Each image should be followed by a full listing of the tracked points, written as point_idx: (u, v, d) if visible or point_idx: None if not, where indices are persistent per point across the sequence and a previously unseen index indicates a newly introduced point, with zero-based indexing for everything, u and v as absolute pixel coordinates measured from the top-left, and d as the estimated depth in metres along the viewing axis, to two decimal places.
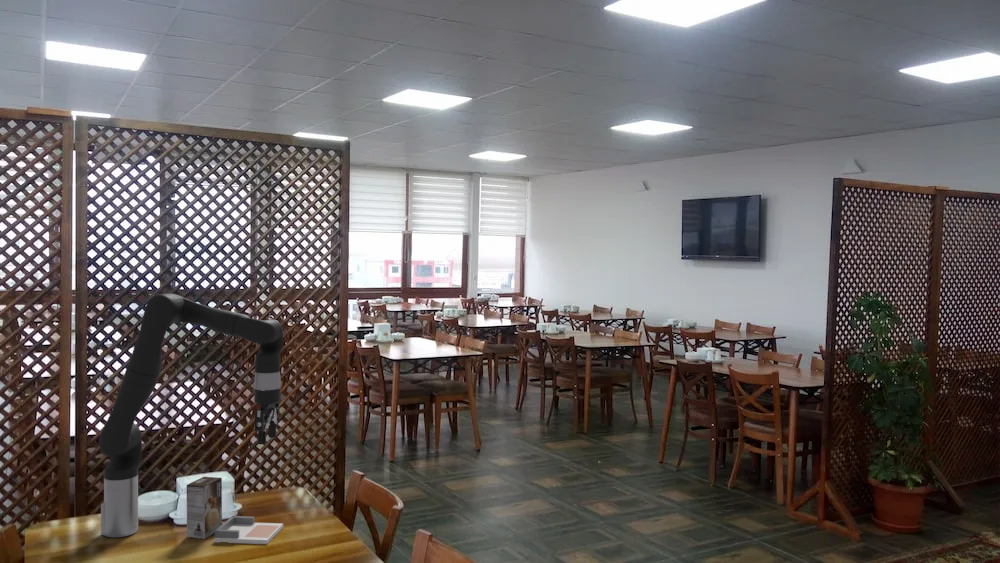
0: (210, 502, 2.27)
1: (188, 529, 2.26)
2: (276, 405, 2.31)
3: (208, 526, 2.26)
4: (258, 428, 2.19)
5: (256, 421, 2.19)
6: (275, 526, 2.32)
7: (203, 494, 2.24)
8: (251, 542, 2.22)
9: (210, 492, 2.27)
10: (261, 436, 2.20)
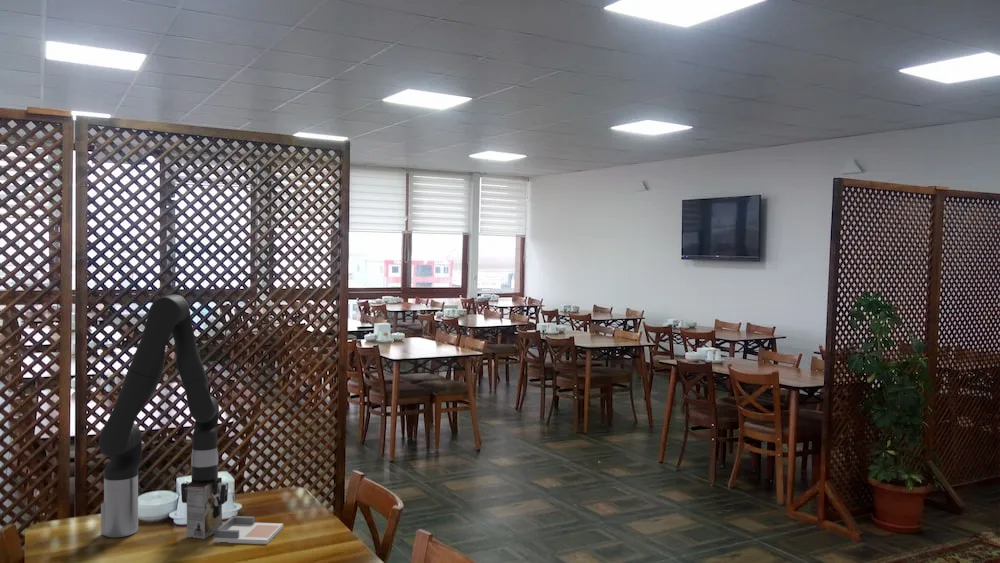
0: (210, 502, 2.27)
1: (188, 529, 2.26)
2: None
3: (208, 526, 2.26)
4: (225, 500, 2.29)
5: (225, 494, 2.28)
6: (275, 526, 2.32)
7: (203, 494, 2.24)
8: (251, 542, 2.22)
9: (210, 492, 2.27)
10: (219, 509, 2.29)
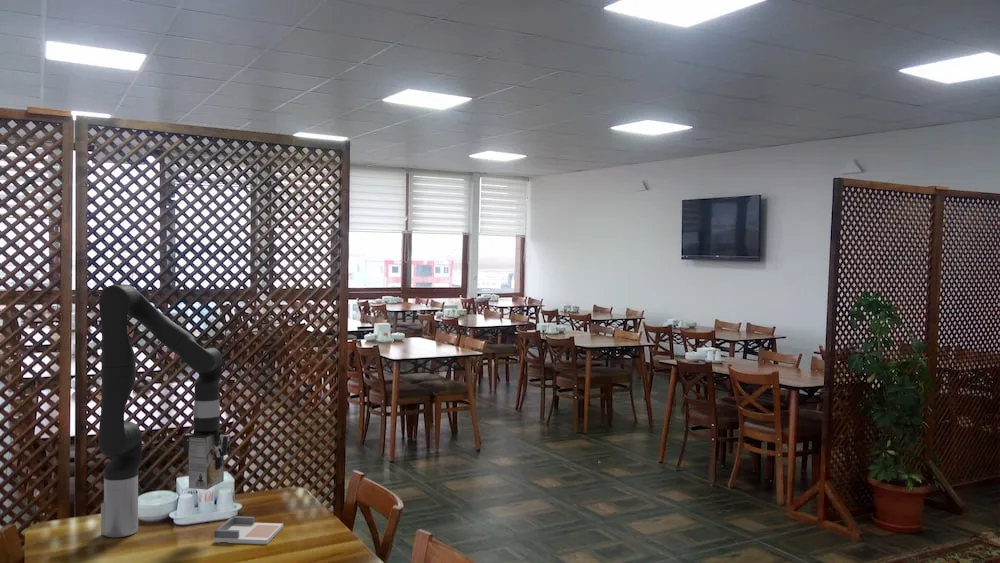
0: (212, 453, 2.26)
1: (190, 480, 2.25)
2: None
3: (210, 478, 2.26)
4: (227, 452, 2.28)
5: (227, 446, 2.28)
6: (275, 526, 2.32)
7: (205, 445, 2.24)
8: (251, 542, 2.22)
9: (212, 443, 2.26)
10: (221, 460, 2.29)
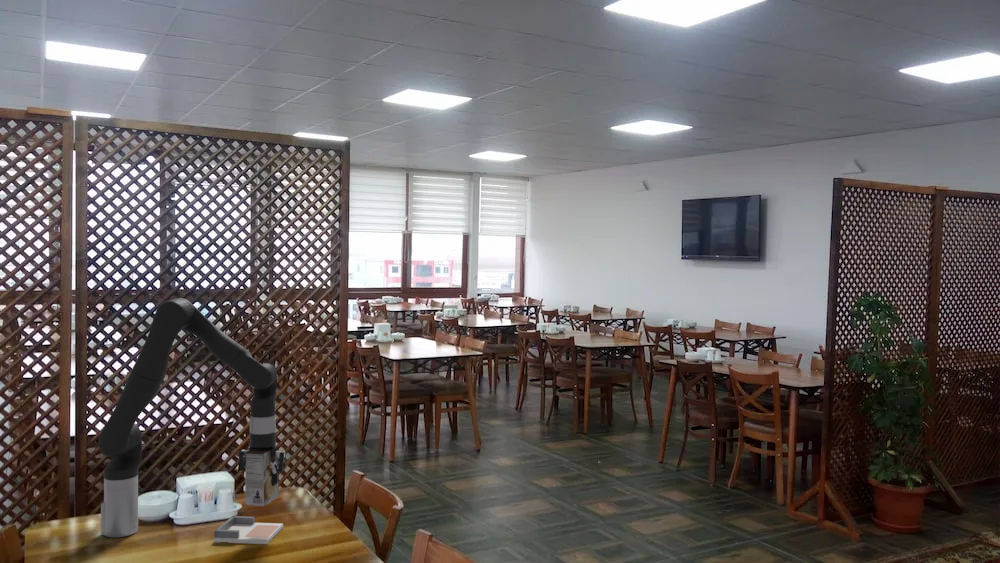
0: (269, 470, 2.26)
1: (247, 496, 2.24)
2: None
3: (267, 494, 2.25)
4: (283, 468, 2.28)
5: (283, 462, 2.27)
6: (275, 526, 2.32)
7: (262, 461, 2.23)
8: (251, 542, 2.22)
9: (269, 459, 2.25)
10: (277, 476, 2.28)
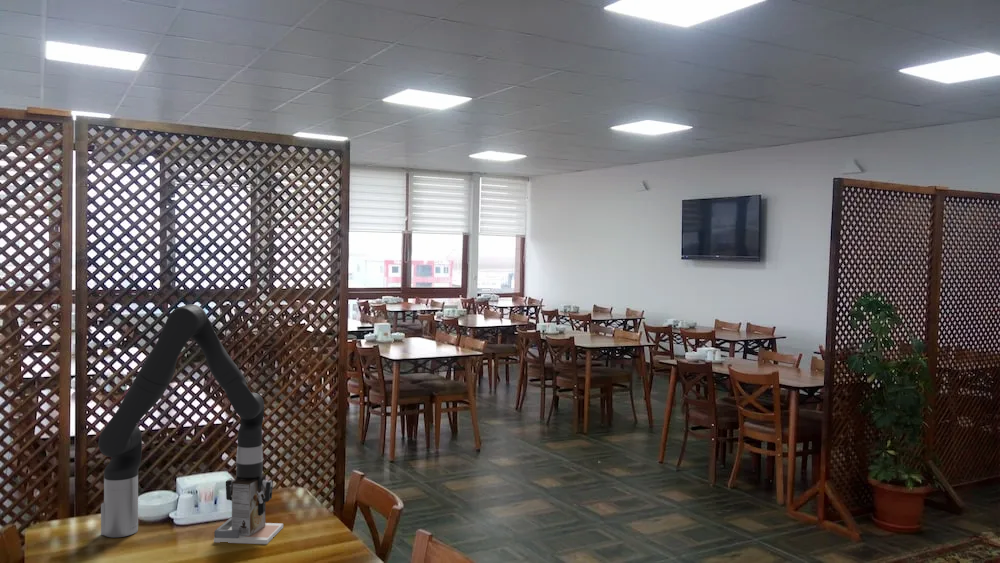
0: (255, 499, 2.26)
1: (233, 526, 2.25)
2: None
3: (253, 524, 2.26)
4: (269, 497, 2.28)
5: (270, 492, 2.27)
6: (275, 526, 2.32)
7: (249, 491, 2.23)
8: (251, 542, 2.22)
9: (255, 489, 2.26)
10: (264, 506, 2.28)
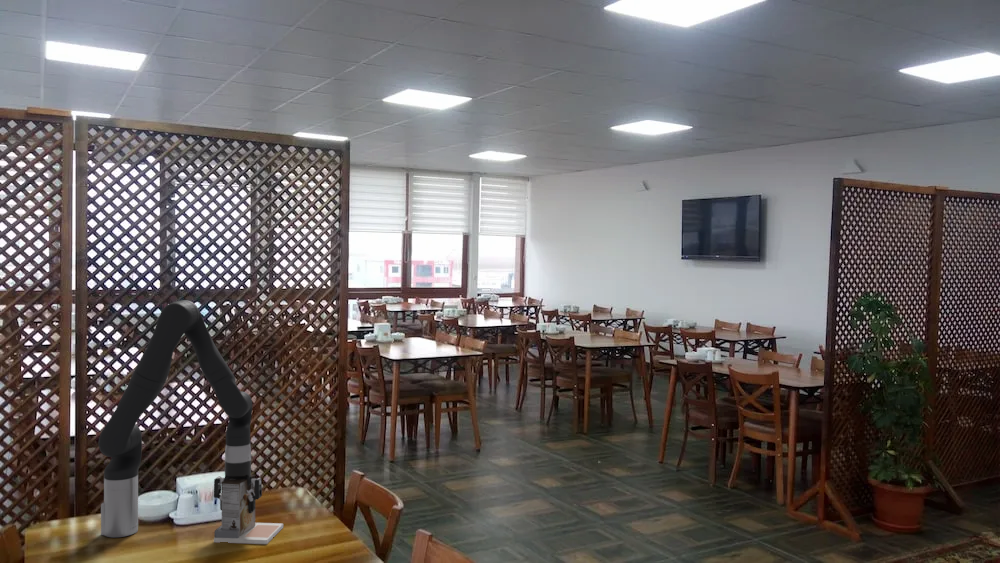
0: (245, 499, 2.26)
1: (223, 526, 2.25)
2: None
3: (243, 523, 2.26)
4: (260, 495, 2.28)
5: (259, 489, 2.28)
6: (275, 526, 2.32)
7: (238, 491, 2.24)
8: (251, 542, 2.22)
9: (245, 489, 2.26)
10: (254, 504, 2.29)
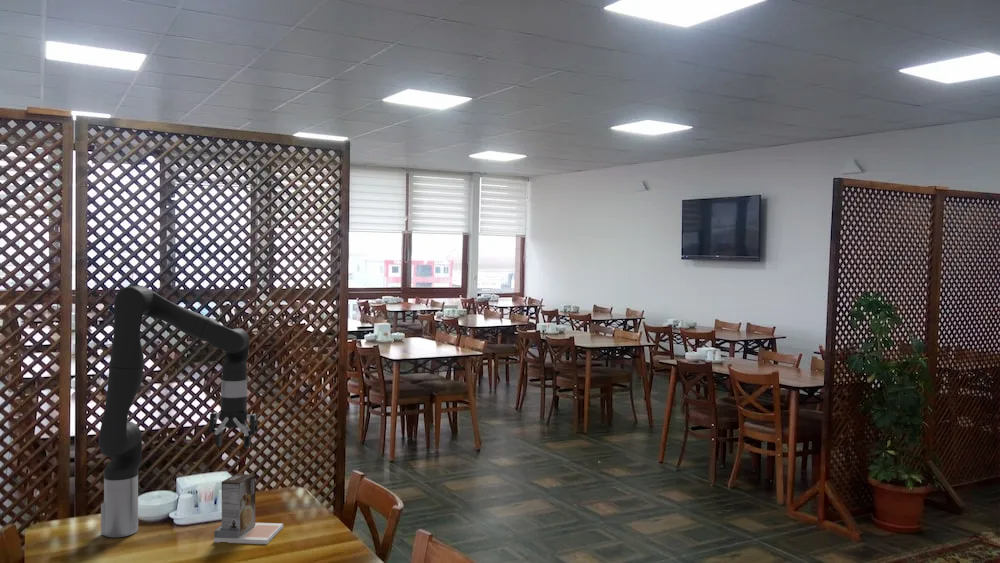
0: (245, 499, 2.26)
1: (223, 526, 2.25)
2: None
3: (243, 523, 2.26)
4: (255, 431, 2.30)
5: (255, 425, 2.29)
6: (275, 526, 2.32)
7: (238, 491, 2.24)
8: (251, 542, 2.22)
9: (245, 489, 2.26)
10: (250, 439, 2.30)
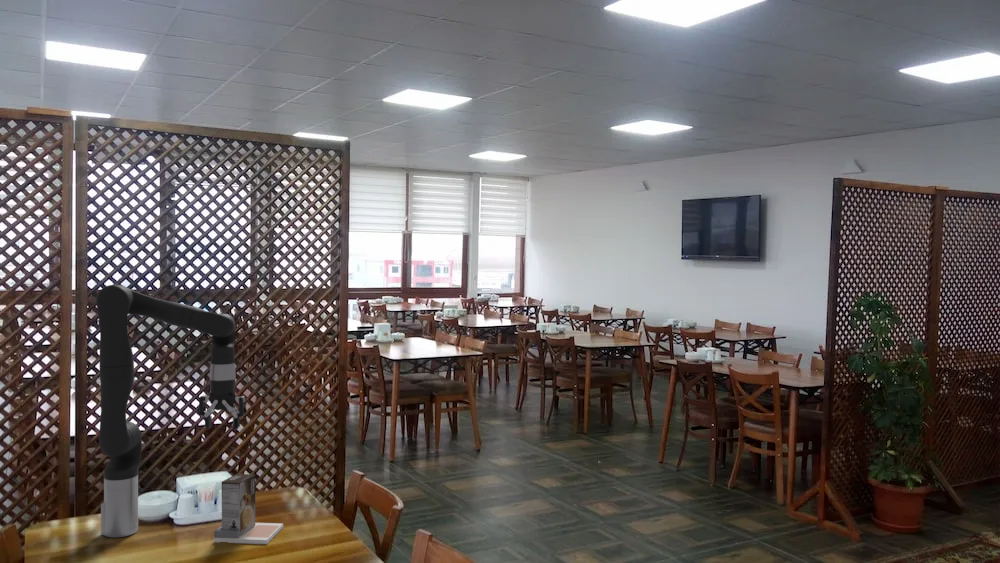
0: (245, 499, 2.26)
1: (223, 526, 2.25)
2: None
3: (243, 523, 2.26)
4: (244, 413, 2.36)
5: (243, 407, 2.35)
6: (275, 526, 2.32)
7: (238, 491, 2.24)
8: (251, 542, 2.22)
9: (245, 489, 2.26)
10: (239, 421, 2.36)
